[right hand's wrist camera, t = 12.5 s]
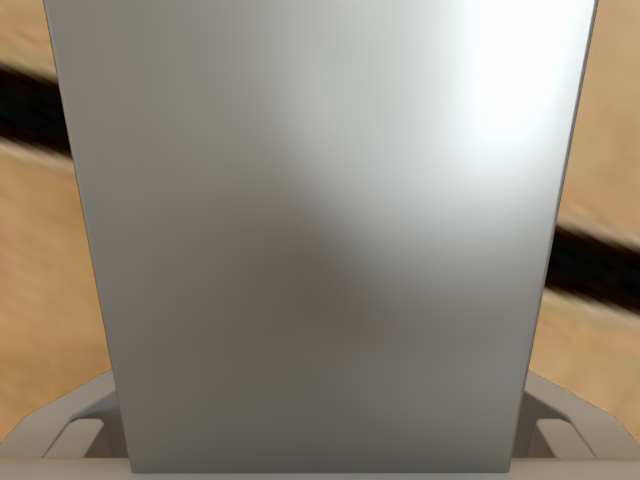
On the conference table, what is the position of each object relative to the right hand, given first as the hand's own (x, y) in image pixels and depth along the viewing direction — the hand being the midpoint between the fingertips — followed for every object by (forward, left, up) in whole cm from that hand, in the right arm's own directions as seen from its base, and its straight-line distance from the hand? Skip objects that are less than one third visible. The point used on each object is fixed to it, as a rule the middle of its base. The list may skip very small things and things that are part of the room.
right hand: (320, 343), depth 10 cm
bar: (+9, -2, -4) cm, 10 cm away
